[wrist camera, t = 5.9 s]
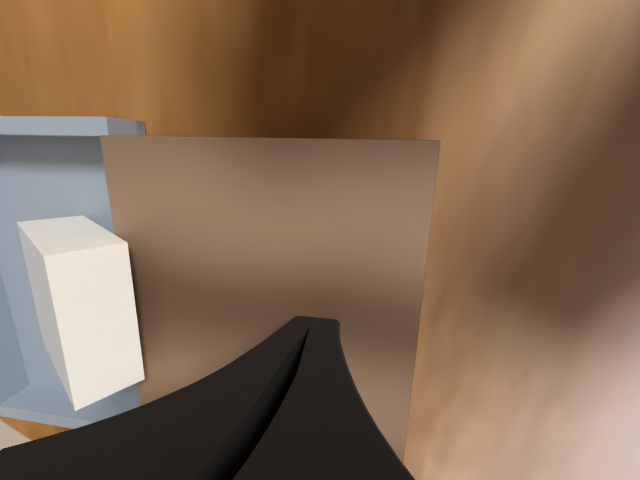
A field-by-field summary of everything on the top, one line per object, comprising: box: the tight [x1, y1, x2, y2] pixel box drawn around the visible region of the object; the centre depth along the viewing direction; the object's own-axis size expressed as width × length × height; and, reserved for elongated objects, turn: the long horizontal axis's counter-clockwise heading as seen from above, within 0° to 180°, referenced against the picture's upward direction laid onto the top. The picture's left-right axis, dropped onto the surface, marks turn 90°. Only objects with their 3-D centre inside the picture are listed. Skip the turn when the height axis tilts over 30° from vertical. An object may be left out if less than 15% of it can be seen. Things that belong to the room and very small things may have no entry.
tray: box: [0, 116, 146, 429], centre depth 14 cm, size 13×8×2 cm, turn 179°
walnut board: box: [99, 135, 440, 463], centre depth 12 cm, size 12×10×2 cm
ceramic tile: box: [17, 215, 145, 411], centre depth 11 cm, size 5×5×2 cm
